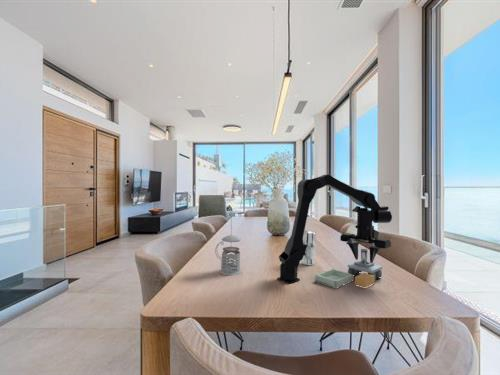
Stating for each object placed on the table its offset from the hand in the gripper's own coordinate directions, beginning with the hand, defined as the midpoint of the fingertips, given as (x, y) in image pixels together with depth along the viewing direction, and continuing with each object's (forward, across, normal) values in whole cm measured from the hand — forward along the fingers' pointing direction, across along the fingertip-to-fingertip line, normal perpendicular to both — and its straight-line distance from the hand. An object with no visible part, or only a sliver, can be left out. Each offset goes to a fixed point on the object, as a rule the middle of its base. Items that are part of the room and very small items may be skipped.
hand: (364, 261), depth 110 cm
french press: (+6, +40, +39) cm, 56 cm away
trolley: (+6, 0, 0) cm, 6 cm away
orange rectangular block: (+6, -5, +9) cm, 12 cm away
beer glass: (+6, +26, +3) cm, 26 cm away
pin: (+2, 0, 0) cm, 2 cm away
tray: (+6, +4, +14) cm, 16 cm away
